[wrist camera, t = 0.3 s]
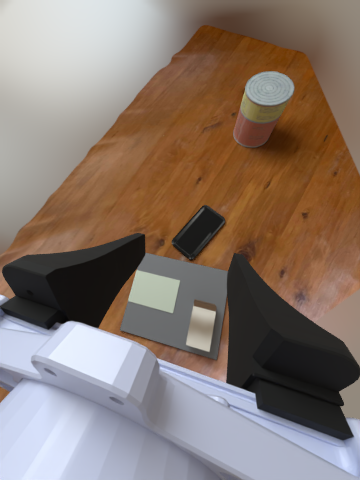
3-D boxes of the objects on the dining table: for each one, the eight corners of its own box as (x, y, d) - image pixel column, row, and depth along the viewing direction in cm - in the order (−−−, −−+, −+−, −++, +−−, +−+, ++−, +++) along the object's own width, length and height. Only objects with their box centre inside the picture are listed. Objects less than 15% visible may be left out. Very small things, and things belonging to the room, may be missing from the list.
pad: (180, 280, 39) (180, 280, 38) (172, 313, 37) (172, 313, 37) (137, 270, 40) (136, 270, 40) (128, 300, 39) (127, 300, 38)
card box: (207, 344, 35) (209, 352, 31) (186, 338, 35) (186, 344, 32) (214, 304, 37) (216, 307, 33) (194, 299, 37) (194, 301, 34)
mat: (216, 358, 34) (216, 360, 34) (120, 329, 38) (119, 330, 37) (229, 272, 39) (230, 271, 38) (142, 252, 42) (142, 252, 41)
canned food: (274, 124, 48) (300, 76, 37) (262, 152, 46) (285, 110, 35) (240, 115, 50) (254, 67, 39) (227, 141, 48) (238, 98, 37)
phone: (170, 242, 41) (204, 203, 43) (170, 243, 42) (204, 205, 44) (191, 261, 39) (227, 219, 41) (191, 261, 40) (226, 221, 42)
